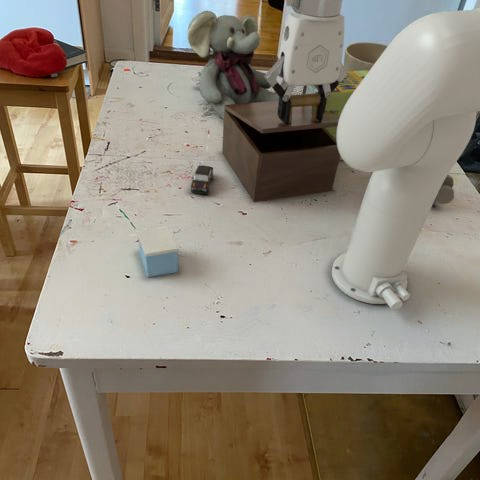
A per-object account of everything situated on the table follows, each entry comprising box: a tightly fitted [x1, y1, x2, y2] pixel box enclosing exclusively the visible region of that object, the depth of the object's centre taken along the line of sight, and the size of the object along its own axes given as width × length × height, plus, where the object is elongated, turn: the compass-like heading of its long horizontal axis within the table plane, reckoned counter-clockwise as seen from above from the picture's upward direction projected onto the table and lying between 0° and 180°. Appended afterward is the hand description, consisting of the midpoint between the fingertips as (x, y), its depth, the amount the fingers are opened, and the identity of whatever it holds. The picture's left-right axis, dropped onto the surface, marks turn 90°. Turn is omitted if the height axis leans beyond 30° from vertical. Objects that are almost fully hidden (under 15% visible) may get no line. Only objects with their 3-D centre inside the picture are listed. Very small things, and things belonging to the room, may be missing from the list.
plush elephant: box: [186, 10, 279, 120], centre depth 116 cm, size 27×22×21 cm
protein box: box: [301, 71, 369, 162], centre depth 105 cm, size 10×15×16 cm
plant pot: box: [343, 41, 389, 71], centre depth 117 cm, size 15×15×16 cm
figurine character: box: [431, 174, 455, 208], centre depth 96 cm, size 7×8×15 cm
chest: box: [221, 109, 340, 203], centre depth 98 cm, size 20×18×10 cm
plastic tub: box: [136, 225, 179, 278], centre depth 77 cm, size 6×5×5 cm
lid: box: [224, 93, 340, 134], centre depth 91 cm, size 20×18×5 cm
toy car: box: [190, 129, 214, 195], centre depth 94 cm, size 4×12×8 cm, turn 172°
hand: (300, 118), depth 87 cm, fingers closed on lid, 6 cm apart
